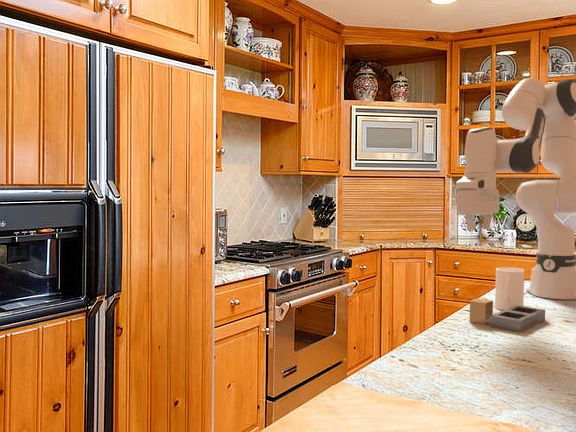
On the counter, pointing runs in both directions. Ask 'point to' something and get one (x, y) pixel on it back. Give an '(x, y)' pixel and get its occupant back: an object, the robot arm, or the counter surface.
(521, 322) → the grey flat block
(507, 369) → the counter surface
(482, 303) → the wooden toy block
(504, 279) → the mug
